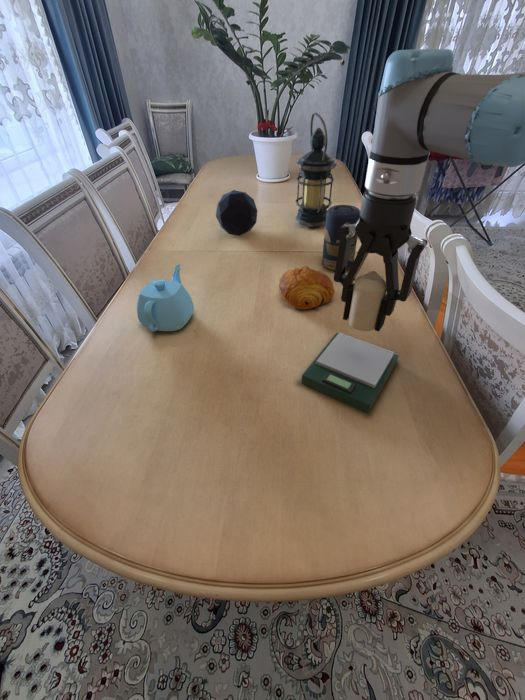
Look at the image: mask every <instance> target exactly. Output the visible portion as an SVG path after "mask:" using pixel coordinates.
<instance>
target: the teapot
mask: <svg viewBox="0 0 525 700" xmlns="http://www.w3.org/2000/svg"><path fill="white" fill-rule="evenodd" d="M180 271H181V264H177V265H175V267H174V269H173V271H172V280H171V279H153V280H150V281H149V282H147V283H146V284H145V285H144V287H142V288H141V290H140V292H139V293H138V298H137V302H136V314H137V319H138V321H139V322H140V323H141V324H142V325H143V326H145V327H147V328H148V330H149V332H152V333H153V332H156V331H159V332H175V331H179V330H181V329H183V327H184V326H186V325H187V323H188V322H189V321H190V319H191V317H192V315H193V313H194V310H195V306H194V302H193V299H192V297H191V295H190V293H189V292H188V290H187V289H186V288H185V287H184V285H183V283H182V279H181V276H180Z"/></svg>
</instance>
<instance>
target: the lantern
mask: <svg viewBox="0 0 525 700" xmlns="http://www.w3.org/2000/svg"><path fill="white" fill-rule="evenodd" d="M315 116H316V117H318V119H319V120H320V122H321V124H322V127H323V129H321V127H317V128H315V130H314V132H313V126H314V117H315ZM309 125H310V127H309V129H310V130H309V131H310V139H309V144H310V147H311V148H310V149H311V150H310V151H309V152H307V153H305V154H304V155H303V156H301V157H300V158H298V161H297V162H296V163H295V166H296V167H297V168H298V169H299V170H300V172H299V173H298V174H297V177H296V179H295V180H296V183H297V190H296V191H297V192H296V199H295V201H294V204H295V205H296V206H297V207H299V208H298V209H297V213H296V215H295V220H296V221H297V222H298V224H299V225H300V226H304V227H307V228H308V227H309V228H315V227H317V228H318V227H322V226H324V225H326V214H327V210H328V209H329V208H330V207H331V206H332V204H333V201H332V191H333V190H332V189H333V184H334V183H335V179H334V176H333V174H332V170H333V169H335V168H336V167H337V162H336V160H335V159H334V158H333V157H332V156H331V155H330V154H328V153H327V150H328V138H329V137H328V130H327V125H326V123H325V121H324V119H323V117H322V116H321V115H320V114H319V113H317V112H314V113H312V115H311V117H310V124H309ZM300 179H303V180H302V181H300ZM328 179H330V181H329V182H327V180H328ZM300 185H302V196H300ZM329 185H330V186H329ZM326 186H329V187H330V189H329V197H326ZM299 196H300V197H299ZM300 200H301V204H300V203H299V201H300ZM325 200H326V201H328V204H325V203H324V202H325Z"/></svg>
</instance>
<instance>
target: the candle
mask: <svg viewBox="0 0 525 700" xmlns="http://www.w3.org/2000/svg"><path fill="white" fill-rule="evenodd" d="M353 283H354V289H353V295H352V301H351V306H350V312H349V318H348V319H347V321H348V324H349V326H350V327H351V328H352V329H354V330H357V331H361V332H372V331H375V327H376V323H377V319H378V315H379V311H380V307H381V302H382V299H383V298H384V297H385V295H386V294H387V288H386V278H384V277H383V276H382V275H381V274H379V273H378V272H377V271H375V270H371V271H368V272H366V273H363V274H361V275H359V276H357V277H356V278H355V280H354V282H353Z"/></svg>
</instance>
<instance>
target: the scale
mask: <svg viewBox="0 0 525 700" xmlns="http://www.w3.org/2000/svg"><path fill="white" fill-rule="evenodd" d="M398 358H399V354H397V353H395V352H394V351H391V350H388V349H386V348H384V347H381V346H377V345H376V344H372V343H369V342H367V341H364V340H362V339H359V338H355V337H353V336H350V335H348V334H344V333H342V332H336V333H335V334H334V335H333V337H332V338H331V339H330V340H329V342H328V343H327V344H326V345H325V346H324V347H323V349H322V350H321V351H320V352H319V354H318V355H317V356H316V357H315V358H314V359H313V361H312V362H311V364H310V365H309V366H308V367H307V368H306V369H305V371H304V372H303V374H301V384H302V385H305V386H307V387H309V388H311V389H313V390H315V391H317V392H320V393H322V394H324V395H326V396H329V397H331V398H333V399H335V400H337V401H340V402H342V403H344V404H347V405H349V406H351V407H353V408H355V409H357V410H359V411H361V412H364V413H366V414H369V412H370V410H371V409H372V407H373V405H374V404H375V402H376V400H377V398H378V397H379V395H380V393H381V391H382V389H383V388H384V386H385V384H386V382H387V380H388V378H389V377H390V375H391V373H392V372H393V369H395V366H396V364H397V362H398V360H399V359H398Z"/></svg>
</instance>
